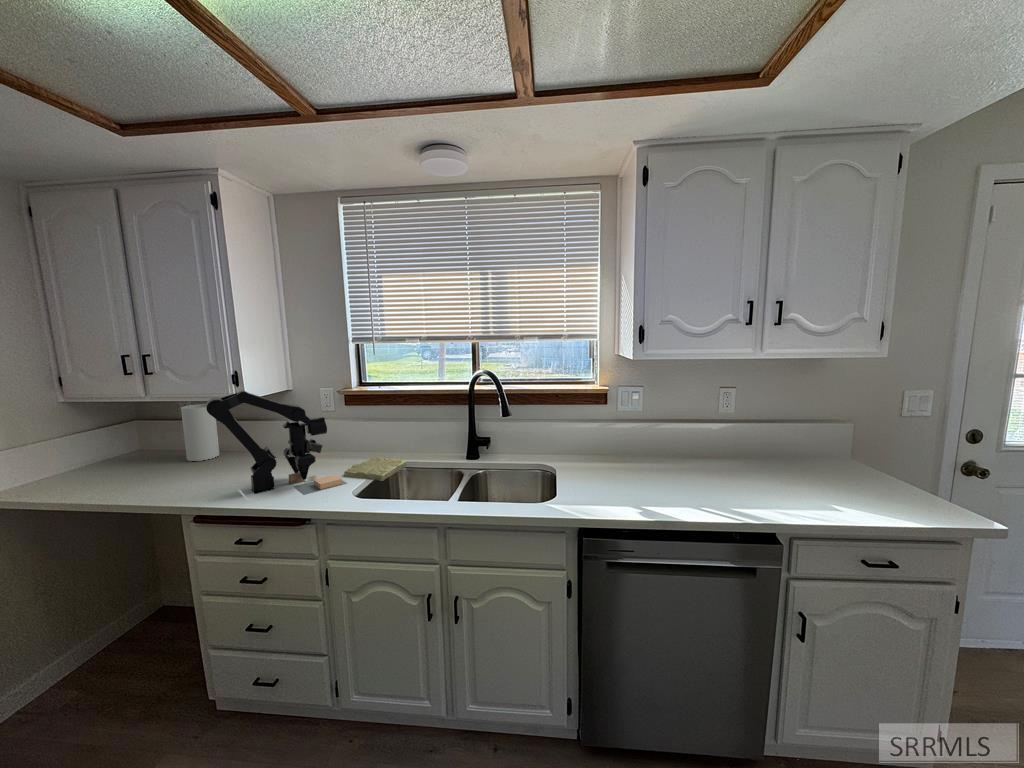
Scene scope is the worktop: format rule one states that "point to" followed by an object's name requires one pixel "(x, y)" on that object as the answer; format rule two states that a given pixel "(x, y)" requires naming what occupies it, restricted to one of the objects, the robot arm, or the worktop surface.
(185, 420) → the cylinder vase
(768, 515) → the worktop surface
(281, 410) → the robot arm
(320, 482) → the terracotta tile
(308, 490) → the slate mat
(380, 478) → the decorative tile
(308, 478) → the grey-capped brown block
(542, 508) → the worktop surface
